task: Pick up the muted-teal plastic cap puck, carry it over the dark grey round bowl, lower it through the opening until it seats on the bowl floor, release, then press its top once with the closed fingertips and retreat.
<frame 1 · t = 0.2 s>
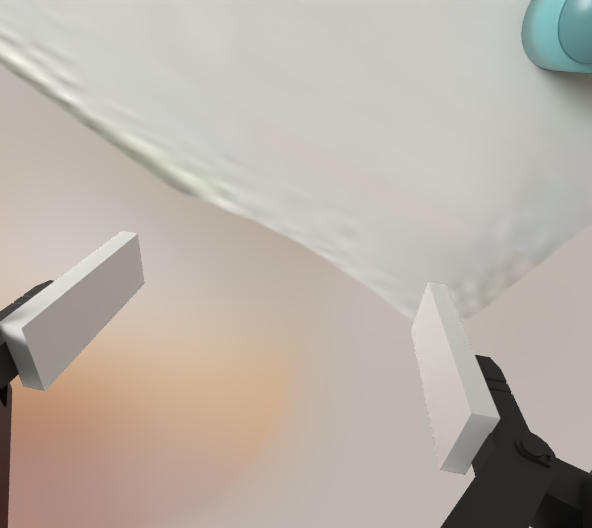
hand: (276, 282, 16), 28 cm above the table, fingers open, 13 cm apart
cap: (571, 18, 31), on the table
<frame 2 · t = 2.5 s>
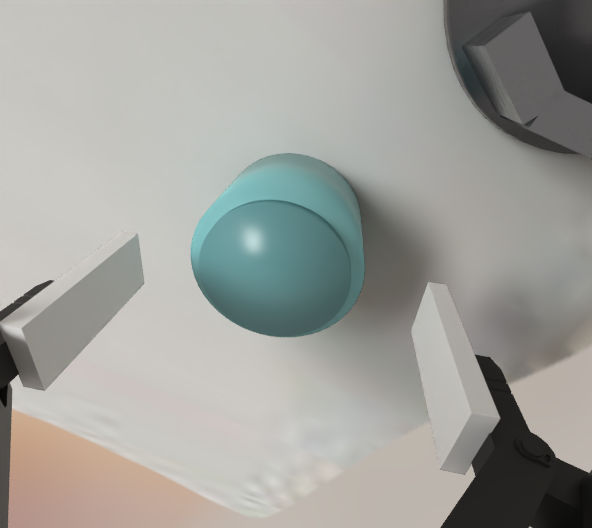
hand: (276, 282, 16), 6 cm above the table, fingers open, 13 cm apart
cap: (291, 222, 21), on the table
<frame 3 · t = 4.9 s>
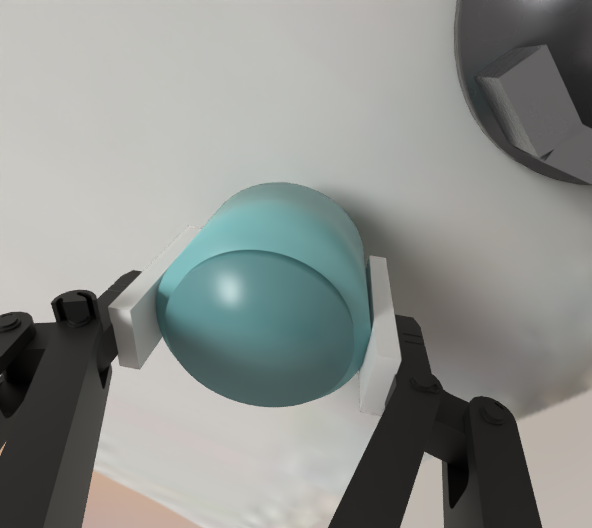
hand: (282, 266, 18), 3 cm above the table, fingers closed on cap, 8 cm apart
cap: (283, 260, 18), point 3 cm above the table, touching gripper
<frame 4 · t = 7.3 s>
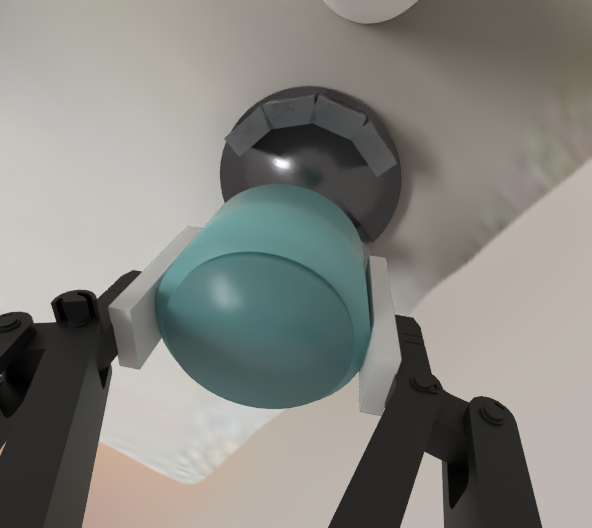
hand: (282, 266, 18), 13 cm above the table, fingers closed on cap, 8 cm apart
cap: (282, 262, 18), point 13 cm above the table, touching gripper
dark grey round bowl: (309, 183, 29), on the table
when the fingers open (2 cm above the table, at t = 9.6 s): cap stays where it is, resting on dark grey round bowl.
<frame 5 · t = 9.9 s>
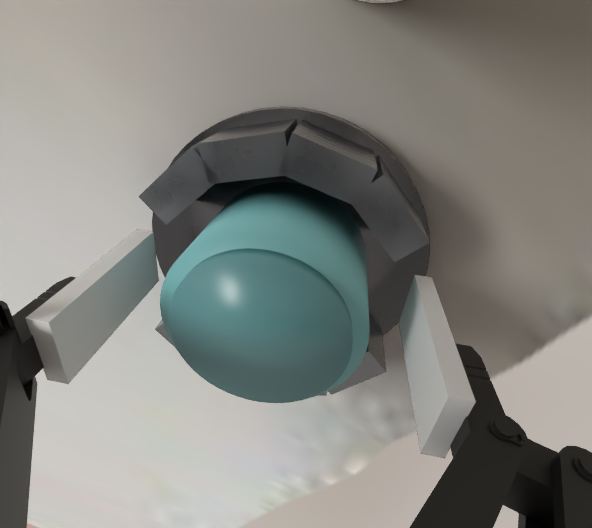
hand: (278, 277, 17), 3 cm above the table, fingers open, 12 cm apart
cap: (286, 259, 18), point 1 cm above the table, touching dark grey round bowl
dark grey round bowl: (288, 249, 19), on the table
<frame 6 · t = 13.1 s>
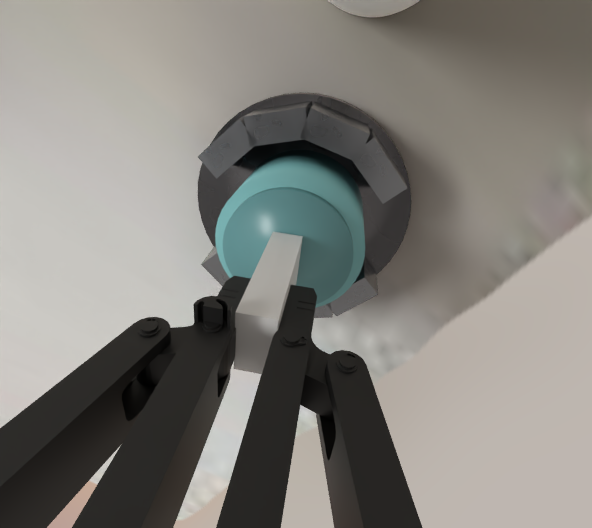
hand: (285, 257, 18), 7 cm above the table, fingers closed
cap: (301, 211, 24), point 1 cm above the table, touching dark grey round bowl, gripper
dark grey round bowl: (302, 205, 24), on the table
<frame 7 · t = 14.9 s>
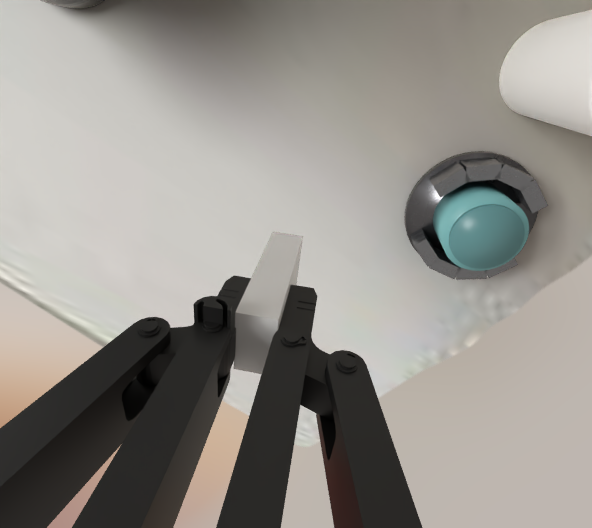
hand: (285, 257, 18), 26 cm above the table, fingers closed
cup: (545, 70, 34), on the table
cap: (470, 216, 41), point 1 cm above the table, touching dark grey round bowl
dark grey round bowl: (467, 213, 42), on the table
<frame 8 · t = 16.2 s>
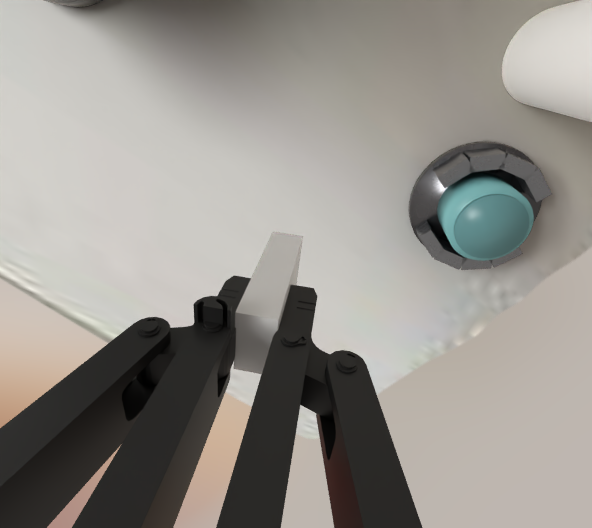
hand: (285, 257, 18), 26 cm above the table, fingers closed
cup: (548, 58, 34), on the table
cap: (474, 207, 41), point 1 cm above the table, touching dark grey round bowl
dark grey round bowl: (471, 203, 42), on the table
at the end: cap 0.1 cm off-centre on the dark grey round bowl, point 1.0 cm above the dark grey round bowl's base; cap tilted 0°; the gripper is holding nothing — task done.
